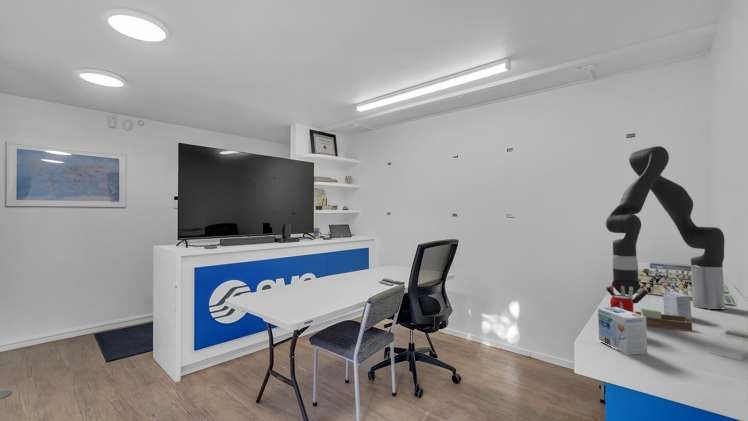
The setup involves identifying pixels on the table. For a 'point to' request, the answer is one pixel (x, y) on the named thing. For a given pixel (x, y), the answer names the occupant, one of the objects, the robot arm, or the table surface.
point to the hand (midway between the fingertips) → (627, 313)
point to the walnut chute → (669, 322)
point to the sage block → (651, 312)
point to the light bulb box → (623, 330)
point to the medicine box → (677, 304)
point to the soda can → (622, 302)
